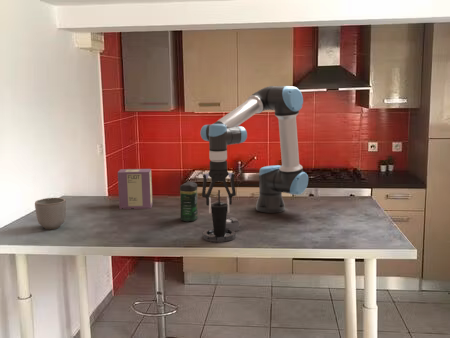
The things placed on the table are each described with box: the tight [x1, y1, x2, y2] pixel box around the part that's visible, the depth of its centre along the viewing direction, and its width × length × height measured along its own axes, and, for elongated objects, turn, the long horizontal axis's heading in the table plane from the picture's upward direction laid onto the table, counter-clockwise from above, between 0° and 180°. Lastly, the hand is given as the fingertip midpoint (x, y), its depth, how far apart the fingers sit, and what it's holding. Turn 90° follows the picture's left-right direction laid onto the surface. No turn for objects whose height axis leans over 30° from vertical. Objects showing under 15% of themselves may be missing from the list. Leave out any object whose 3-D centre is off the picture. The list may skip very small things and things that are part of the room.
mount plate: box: [202, 227, 237, 243], centre depth 230 cm, size 14×14×2 cm
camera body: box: [226, 216, 240, 232], centre depth 241 cm, size 8×6×5 cm
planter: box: [34, 197, 67, 231], centre depth 247 cm, size 14×14×13 cm
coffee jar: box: [179, 181, 199, 222], centre depth 258 cm, size 10×8×19 cm
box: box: [117, 168, 153, 210], centre depth 284 cm, size 17×9×20 cm, turn 92°
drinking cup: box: [211, 189, 228, 236], centre depth 228 cm, size 8×8×20 cm
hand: (219, 212), depth 228 cm, fingers closed on drinking cup, 7 cm apart
